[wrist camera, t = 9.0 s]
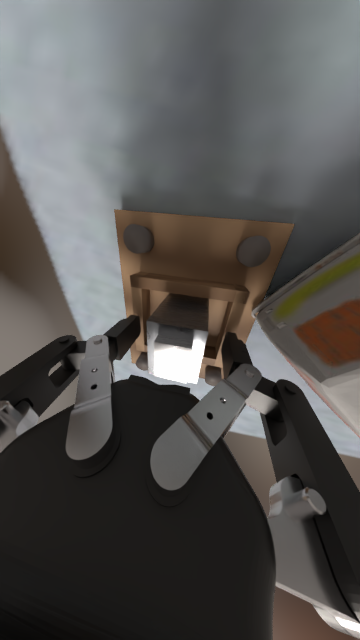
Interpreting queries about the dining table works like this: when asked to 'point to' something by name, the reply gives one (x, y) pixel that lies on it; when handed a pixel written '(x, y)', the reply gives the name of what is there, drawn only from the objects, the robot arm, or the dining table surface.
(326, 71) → the dining table surface
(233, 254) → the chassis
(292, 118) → the dining table surface
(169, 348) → the block
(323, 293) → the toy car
